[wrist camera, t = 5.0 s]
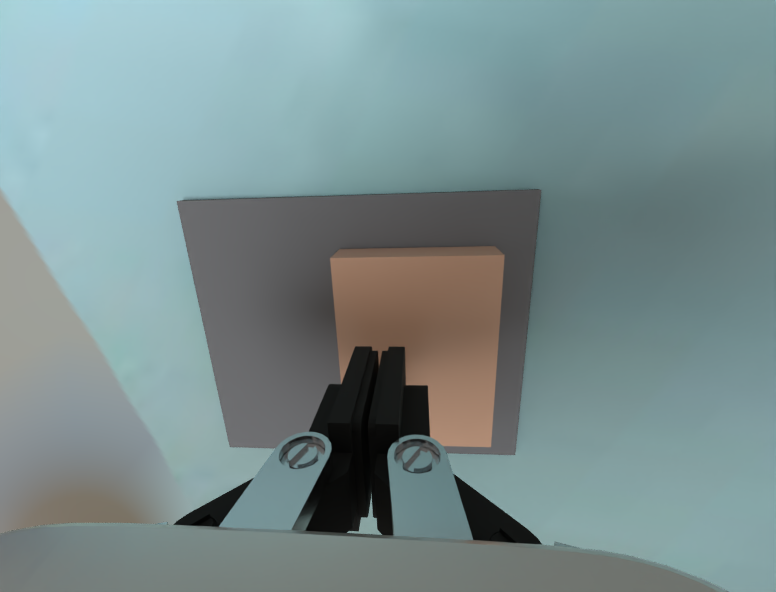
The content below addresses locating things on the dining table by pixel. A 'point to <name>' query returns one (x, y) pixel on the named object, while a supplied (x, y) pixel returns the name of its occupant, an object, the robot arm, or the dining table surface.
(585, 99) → the dining table surface
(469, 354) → the tile
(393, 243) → the mat
